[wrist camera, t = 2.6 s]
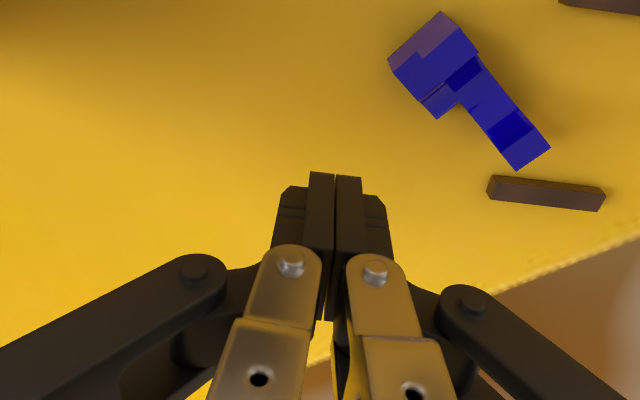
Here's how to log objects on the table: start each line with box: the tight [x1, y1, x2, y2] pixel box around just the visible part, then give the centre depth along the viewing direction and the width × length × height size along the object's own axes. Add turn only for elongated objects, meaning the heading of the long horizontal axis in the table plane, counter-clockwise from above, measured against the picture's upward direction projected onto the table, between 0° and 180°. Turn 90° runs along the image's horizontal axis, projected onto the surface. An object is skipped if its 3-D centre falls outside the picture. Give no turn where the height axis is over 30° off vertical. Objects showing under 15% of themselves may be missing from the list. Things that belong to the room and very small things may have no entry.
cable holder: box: [387, 11, 551, 171], centre depth 23 cm, size 8×4×4 cm, turn 44°
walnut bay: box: [486, 0, 640, 212], centre depth 25 cm, size 7×13×1 cm, turn 173°
